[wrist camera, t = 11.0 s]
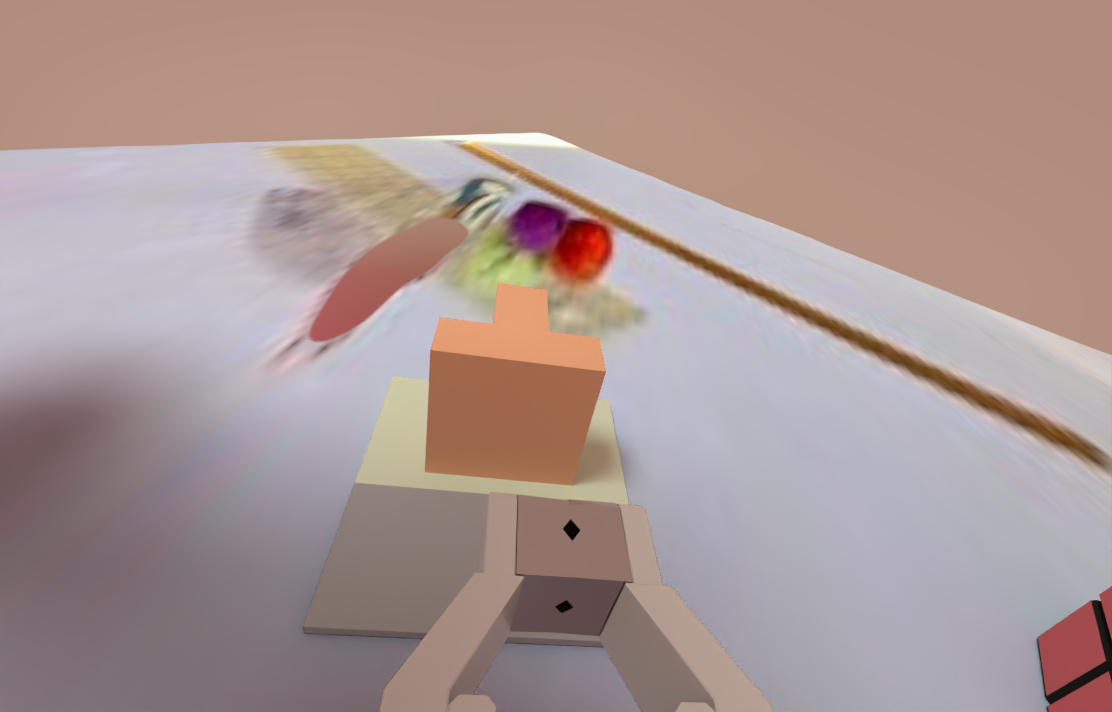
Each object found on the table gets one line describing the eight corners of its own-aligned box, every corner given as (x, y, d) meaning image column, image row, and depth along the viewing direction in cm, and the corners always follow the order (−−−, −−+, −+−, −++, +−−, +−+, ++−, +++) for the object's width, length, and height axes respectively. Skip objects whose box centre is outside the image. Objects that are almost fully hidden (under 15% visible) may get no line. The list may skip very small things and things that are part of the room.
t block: (424, 472, 34) (430, 350, 28) (443, 387, 41) (451, 276, 36) (571, 485, 35) (605, 371, 30) (565, 400, 42) (591, 296, 37)
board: (304, 633, 25) (302, 626, 25) (393, 381, 41) (393, 376, 41) (652, 649, 28) (655, 644, 27) (607, 406, 44) (609, 400, 44)
